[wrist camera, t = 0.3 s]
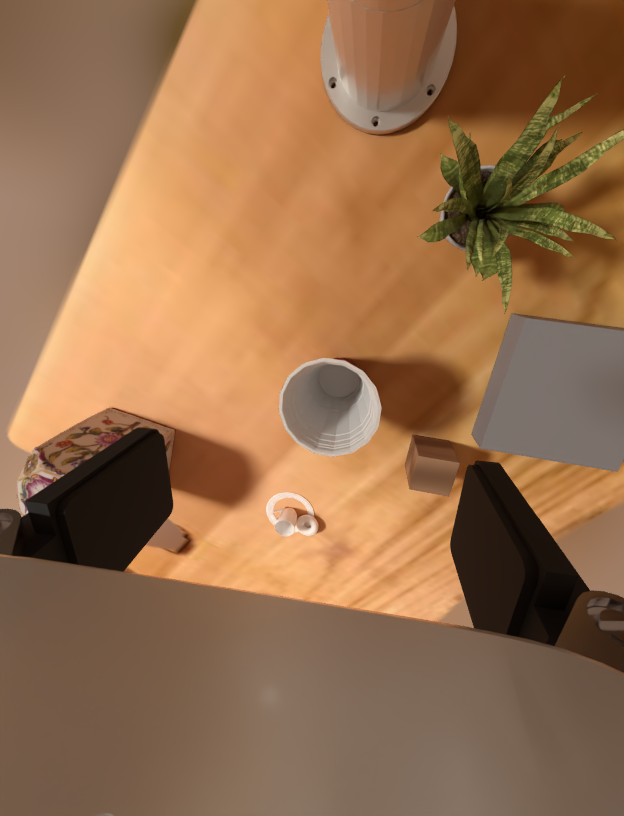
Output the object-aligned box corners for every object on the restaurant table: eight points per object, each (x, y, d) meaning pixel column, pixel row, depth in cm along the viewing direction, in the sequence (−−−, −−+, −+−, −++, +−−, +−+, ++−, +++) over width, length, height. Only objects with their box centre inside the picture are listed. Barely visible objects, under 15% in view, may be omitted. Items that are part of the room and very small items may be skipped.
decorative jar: (104, 465, 58) (0, 542, 42) (107, 404, 54) (-9, 465, 37) (170, 487, 58) (91, 575, 41) (179, 429, 53) (94, 501, 37)
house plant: (538, 285, 39) (645, 295, 24) (411, 308, 42) (436, 330, 27) (542, 134, 34) (679, 27, 19) (398, 173, 37) (419, 107, 22)
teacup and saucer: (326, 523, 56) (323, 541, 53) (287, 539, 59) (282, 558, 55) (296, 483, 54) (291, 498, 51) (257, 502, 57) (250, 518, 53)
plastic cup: (332, 319, 44) (320, 336, 33) (395, 373, 45) (404, 406, 34) (282, 381, 48) (257, 415, 37) (342, 428, 49) (334, 474, 38)
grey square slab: (511, 313, 40) (525, 317, 37) (658, 332, 39) (689, 339, 35) (471, 434, 46) (480, 448, 43) (597, 455, 45) (617, 471, 41)
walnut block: (412, 434, 48) (418, 455, 42) (449, 440, 47) (460, 463, 42) (404, 464, 50) (409, 489, 44) (439, 471, 49) (449, 496, 44)
